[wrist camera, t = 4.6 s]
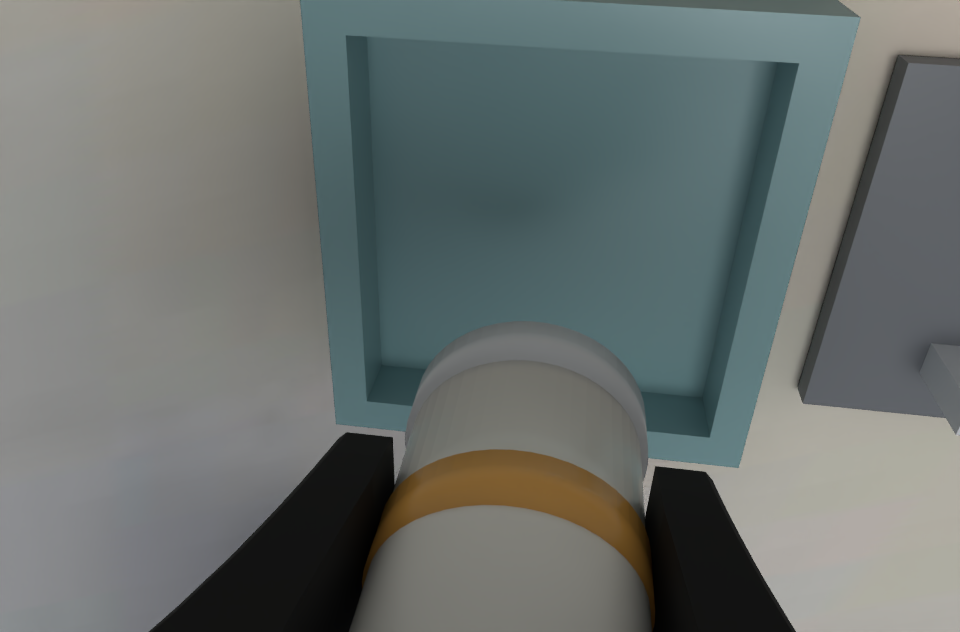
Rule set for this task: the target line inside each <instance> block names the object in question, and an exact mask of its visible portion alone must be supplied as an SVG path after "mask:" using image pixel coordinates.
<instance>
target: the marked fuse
mask: <svg viewBox="0 0 960 632" xmlns="http://www.w3.org/2000/svg"><path fill="white" fill-rule="evenodd" d="M405 446H406V451H405V455H404V458H403V461H402V464H401V467H400V471H399V474H398V477H397V480H396V483H395V486H394V490H393V493H392V494H391V496H390V497H389V499H388V501H387V503H386V504H385V506H384V509H383V512H382V514H381V517H380V520H379V523H378V527H377V530H376V533H375V536H374V539H373V542H372V545H371V548H370V552H369V555H368V558H367V561H366V564H365V567H364V571H363V577H362V592H361V595H360V598H359V601H358V604H357V608H356V611H355V614H354V617H353V620H352V623H351V627H350V630H349V632H653V628H654V624H655V599H654V585H653V570H652V556H651V548H650V541H649V538H648V535H647V532H646V529H645V512H644V496H643V480H644V477H645V474H646V470H647V465H648V441H647V428H646V414H645V407H644V401H643V398H642V395H641V391H640V389H639V387H638V385H637V383H636V381H635V379H634V377H633V376H632V374H631V373H630V371H629V370H628V368H627V367H626V366H625V365H624V364H623V363H622V362H621V361H620V359H619V358H618V357H617V356H616V355H614V354H613V353H612V352H611V351H610V350H608V349H607V348H606V347H605V346H603V345H601V344H600V343H598V342H597V341H595V340H594V339H592V338H590V337H588V336H586V335H584V334H581V333H579V332H577V331H574V330H571V329H568V328H565V327H562V326H558V325H553V324H549V323H542V322H533V321H512V322H504V323H497V324H493V325H488V326H484V327H481V328H479V329H476V330H473V331H470V332H468V333H466V334H464V335H463V336H461V337H459V338H457V339H455V340H454V341H453V342H451V343H450V344H448V345H447V346H446V347H444V348H443V349H442V350H441V351H440V352H439V353H438V354H437V355H436V356H435V358H434V359H433V360H432V361H431V363H430V364H429V365H428V367H427V369H426V371H425V372H424V374H423V376H422V379H421V382H420V385H419V387H418V391H417V394H416V397H415V400H414V403H413V406H412V409H411V412H410V415H409V418H408V421H407V427H406V433H405Z"/></svg>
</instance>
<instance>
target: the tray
mask: <svg viewBox="0 0 960 632" xmlns="http://www.w3.org/2000/svg"><path fill="white" fill-rule="evenodd" d="M300 5H301V17H302V28H303V40H304V52H305V64H306V75H307V87H308V99H309V111H310V122H311V134H312V146H313V158H314V170H315V181H316V193H317V205H318V217H319V228H320V240H321V252H322V264H323V275H324V287H325V299H326V311H327V322H328V334H329V346H330V358H331V370H332V381H333V393H334V405H335V417H336V424H341V425H350V426H359V427H368V428H377V429H387V430H396V431H405V432H406V427H407V421H408V418H409V415H410V412H411V409H412V406H413V403H414V400H415V397H416V394H417V391H418V387H419V385H420V382H421V379H422V376H423V374H424V372H425V371H426V369H427V367H428V365H429V364H430V363H431V361H432V360H433V359H434V358H435V356H436V355H437V354H438V353H439V352H440V351H441V350H442V349H443V348H444V347H446V346H447V345H448V344H450V343H451V342H453V341H454V340H455V339H457V338H459V337H461V336H463V335H464V334H466V333H468V332H470V331H473V330H476V329H479V328H481V327H484V326H488V325H493V324H497V323H504V322H512V321H533V322H542V323H549V324H553V325H558V326H562V327H565V328H568V329H571V330H574V331H577V332H579V333H581V334H584V335H586V336H588V337H590V338H592V339H594V340H595V341H597V342H598V343H600V344H601V345H603V346H605V347H606V348H607V349H608V350H610V351H611V352H612V353H613V354H614V355H616V356H617V357H618V358H619V359H620V361H621V362H622V363H623V364H624V365H625V366H626V367H627V368H628V370H629V371H630V373H631V374H632V376H633V377H634V379H635V381H636V383H637V385H638V387H639V389H640V391H641V395H642V398H643V401H644V407H645V414H646V428H647V441H648V458H652V459H662V460H671V461H680V462H689V463H698V464H707V465H717V466H726V467H735V468H739V464H740V461H741V457H742V453H743V449H744V446H745V442H746V438H747V435H748V431H749V427H750V424H751V420H752V416H753V413H754V409H755V405H756V402H757V398H758V394H759V390H760V387H761V383H762V379H763V376H764V372H765V368H766V365H767V361H768V357H769V354H770V350H771V346H772V343H773V339H774V335H775V331H776V328H777V324H778V320H779V317H780V313H781V309H782V306H783V302H784V298H785V295H786V291H787V287H788V283H789V280H790V276H791V272H792V269H793V265H794V261H795V258H796V254H797V250H798V247H799V243H800V239H801V236H802V232H803V228H804V224H805V221H806V217H807V213H808V210H809V206H810V202H811V199H812V195H813V191H814V188H815V184H816V180H817V177H818V173H819V169H820V165H821V162H822V158H823V154H824V151H825V147H826V143H827V140H828V136H829V132H830V129H831V125H832V121H833V117H834V114H835V110H836V106H837V103H838V99H839V95H840V92H841V88H842V84H843V81H844V77H845V73H846V70H847V66H848V62H849V58H850V55H851V51H852V47H853V44H854V40H855V36H856V33H857V29H858V25H859V22H860V18H861V17H859V16H858V15H857V14H855V13H854V12H853V11H851V10H850V9H849V8H847V7H846V6H845V5H843V4H842V3H841V2H839V1H838V0H300Z"/></svg>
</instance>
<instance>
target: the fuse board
mask: <svg viewBox="0 0 960 632" xmlns="http://www.w3.org/2000/svg"><path fill="white" fill-rule="evenodd" d="M798 391H799V394H800V397H801V400H802V402H803V404H813V405H822V406H832V407H842V408H852V409H862V410H872V411H882V412H892V413H902V414H912V415H922V416H932V417H941V418H946V419H947V421H948V422H949V424H950V426H951V427H952V429H953V431H954V433H955V434H956V435H960V59H955V58H939V57H922V56H905V55H898V58H897V62H896V65H895V68H894V72H893V75H892V78H891V81H890V85H889V88H888V91H887V95H886V98H885V101H884V105H883V108H882V111H881V114H880V118H879V121H878V124H877V128H876V131H875V134H874V138H873V141H872V144H871V148H870V151H869V154H868V157H867V161H866V164H865V167H864V171H863V174H862V177H861V181H860V184H859V187H858V191H857V194H856V197H855V200H854V204H853V207H852V210H851V214H850V217H849V220H848V224H847V227H846V230H845V234H844V237H843V240H842V243H841V247H840V250H839V253H838V257H837V260H836V263H835V267H834V270H833V273H832V277H831V280H830V283H829V286H828V290H827V293H826V296H825V300H824V303H823V306H822V310H821V313H820V316H819V319H818V323H817V326H816V329H815V333H814V336H813V339H812V343H811V346H810V349H809V353H808V356H807V359H806V362H805V366H804V369H803V372H802V376H801V379H800V382H799V386H798Z"/></svg>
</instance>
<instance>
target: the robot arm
mask: <svg viewBox="0 0 960 632" xmlns="http://www.w3.org/2000/svg"><path fill="white" fill-rule="evenodd" d="M394 486H395V484H394V457H393V437H384V436H375V435H366V434H357V433H348V432H347V433H345V434H344V435H343V436H341V437H340V438H339V439H338V440H337V441H336V442H335V443H334V445H333V446H332V447H331V448H330V449H329V450H328V452H327V453H326V454H325V455H324V456H323V457H322V459H321V460H320V461H319V462H318V463H317V464H316V466H315V467H314V468H313V469H312V470H311V471H310V473H309V474H308V475H307V476H306V477H305V478H304V479H303V480H302V482H301V483H300V484H299V485H298V486H297V487H296V488H295V489H294V490H293V492H292V493H291V494H290V495H289V496H288V497H287V498H286V499H285V500H284V502H283V503H282V504H281V505H280V506H279V507H278V508H277V509H276V510H275V511H274V512H273V513H272V514H271V515H270V516H269V517H268V518H267V520H266V521H265V522H264V523H263V524H262V525H261V526H260V527H259V528H258V529H257V530H256V531H255V532H254V533H253V534H252V535H251V536H250V537H249V538H248V539H247V540H246V541H245V542H244V543H243V544H242V545H241V547H240V548H239V549H238V550H237V551H236V552H235V553H234V554H233V555H232V556H231V557H230V558H229V559H228V560H226V561H225V562H224V563H223V564H222V565H221V566H220V567H219V568H218V569H217V570H216V571H215V572H214V573H213V574H212V575H211V576H210V577H208V578H207V579H206V580H205V581H204V582H203V583H202V584H201V585H200V586H199V587H198V588H197V589H196V590H195V591H194V592H193V593H191V594H190V595H189V596H188V597H187V598H186V599H185V600H184V601H183V602H182V603H181V604H180V605H179V606H178V607H177V608H175V609H174V610H173V611H172V612H171V613H170V614H169V615H168V616H166V617H165V618H164V619H163V620H162V621H161V622H160V623H158V624H157V625H156V626H155V627H154V628H153V629H152V630H150V631H149V632H349V630H350V627H351V623H352V620H353V617H354V614H355V611H356V608H357V604H358V601H359V598H360V595H361V592H362V577H363V571H364V567H365V564H366V561H367V558H368V555H369V552H370V548H371V545H372V542H373V539H374V536H375V533H376V530H377V527H378V523H379V520H380V517H381V514H382V512H383V509H384V506H385V504H386V503H387V501H388V499H389V497H390V496H391V494H392V493H393V490H394ZM645 529H646V532H647V535H648V538H649V541H650V548H651V556H652V570H653V585H654V599H655V624H654V628H653V632H796V631H795V630H794V628H793V626H792V625H791V623H790V621H789V620H788V618H787V616H786V615H785V613H784V611H783V610H782V608H781V607H780V605H779V603H778V602H777V600H776V598H775V597H774V595H773V593H772V592H771V590H770V588H769V587H768V585H767V583H766V582H765V580H764V578H763V576H762V575H761V573H760V571H759V569H758V568H757V566H756V564H755V562H754V561H753V559H752V557H751V555H750V553H749V551H748V550H747V548H746V546H745V544H744V542H743V540H742V539H741V537H740V535H739V533H738V531H737V529H736V527H735V525H734V523H733V521H732V519H731V518H730V516H729V514H728V512H727V510H726V508H725V506H724V504H723V501H722V499H721V497H720V495H719V493H718V491H717V489H716V487H715V485H714V482H713V480H712V479H711V478H710V477H709V476H708V474H707V473H706V472H702V471H693V470H684V469H675V468H666V467H657V466H655V471H654V476H653V481H652V486H651V491H650V496H649V501H648V506H647V511H646V516H645Z"/></svg>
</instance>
